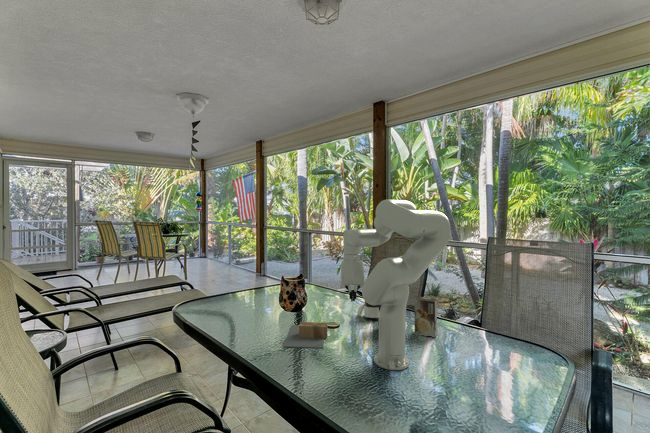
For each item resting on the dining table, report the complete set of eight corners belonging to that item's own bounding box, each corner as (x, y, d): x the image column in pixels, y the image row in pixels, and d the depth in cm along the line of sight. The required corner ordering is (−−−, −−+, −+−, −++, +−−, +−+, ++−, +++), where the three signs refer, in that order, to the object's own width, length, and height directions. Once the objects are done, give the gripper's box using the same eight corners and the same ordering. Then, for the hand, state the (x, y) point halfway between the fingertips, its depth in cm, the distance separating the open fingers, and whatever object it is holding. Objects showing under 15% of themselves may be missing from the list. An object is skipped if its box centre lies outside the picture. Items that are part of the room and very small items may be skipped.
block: (326, 326, 137) (299, 325, 137) (326, 338, 137) (298, 337, 138) (327, 322, 142) (300, 321, 142) (327, 333, 142) (300, 333, 143)
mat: (323, 348, 128) (323, 347, 128) (283, 347, 128) (283, 346, 128) (325, 327, 152) (325, 326, 152) (292, 326, 152) (292, 325, 152)
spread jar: (380, 321, 160) (381, 298, 160) (358, 321, 161) (358, 298, 161) (377, 314, 172) (377, 292, 172) (356, 313, 173) (356, 292, 173)
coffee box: (437, 333, 145) (437, 298, 145) (435, 338, 140) (435, 301, 139) (416, 330, 149) (417, 295, 149) (413, 334, 144) (414, 299, 144)
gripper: (368, 257, 142) (369, 298, 141) (335, 257, 143) (335, 298, 142) (370, 258, 134) (371, 302, 134) (334, 259, 135) (335, 302, 134)
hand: (352, 300), depth 138 cm, fingers closed
